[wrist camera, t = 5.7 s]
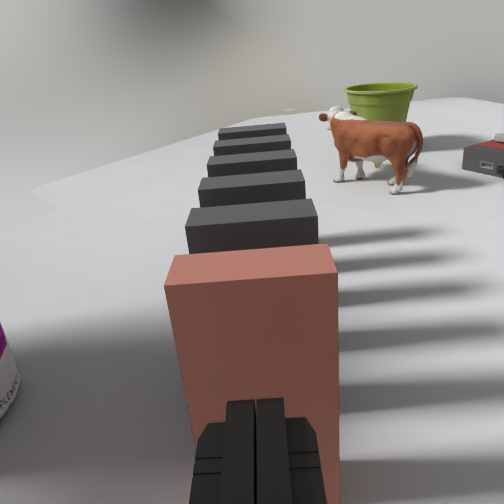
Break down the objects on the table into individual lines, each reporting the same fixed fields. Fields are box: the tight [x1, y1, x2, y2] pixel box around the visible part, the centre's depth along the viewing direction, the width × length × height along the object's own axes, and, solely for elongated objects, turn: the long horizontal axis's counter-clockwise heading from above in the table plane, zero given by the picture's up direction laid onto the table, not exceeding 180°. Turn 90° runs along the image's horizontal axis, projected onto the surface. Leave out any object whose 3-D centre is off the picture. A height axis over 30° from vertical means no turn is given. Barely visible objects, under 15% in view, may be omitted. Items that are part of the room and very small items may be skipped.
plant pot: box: [344, 82, 418, 122], centre depth 63 cm, size 9×9×9 cm
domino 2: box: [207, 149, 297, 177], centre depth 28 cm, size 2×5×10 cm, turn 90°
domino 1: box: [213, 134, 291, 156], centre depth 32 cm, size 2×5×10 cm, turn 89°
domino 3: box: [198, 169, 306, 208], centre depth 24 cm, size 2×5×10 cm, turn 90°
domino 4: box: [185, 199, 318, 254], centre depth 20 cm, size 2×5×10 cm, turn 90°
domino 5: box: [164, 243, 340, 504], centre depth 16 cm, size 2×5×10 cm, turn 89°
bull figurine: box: [319, 106, 423, 195], centre depth 50 cm, size 4×13×8 cm, turn 35°
